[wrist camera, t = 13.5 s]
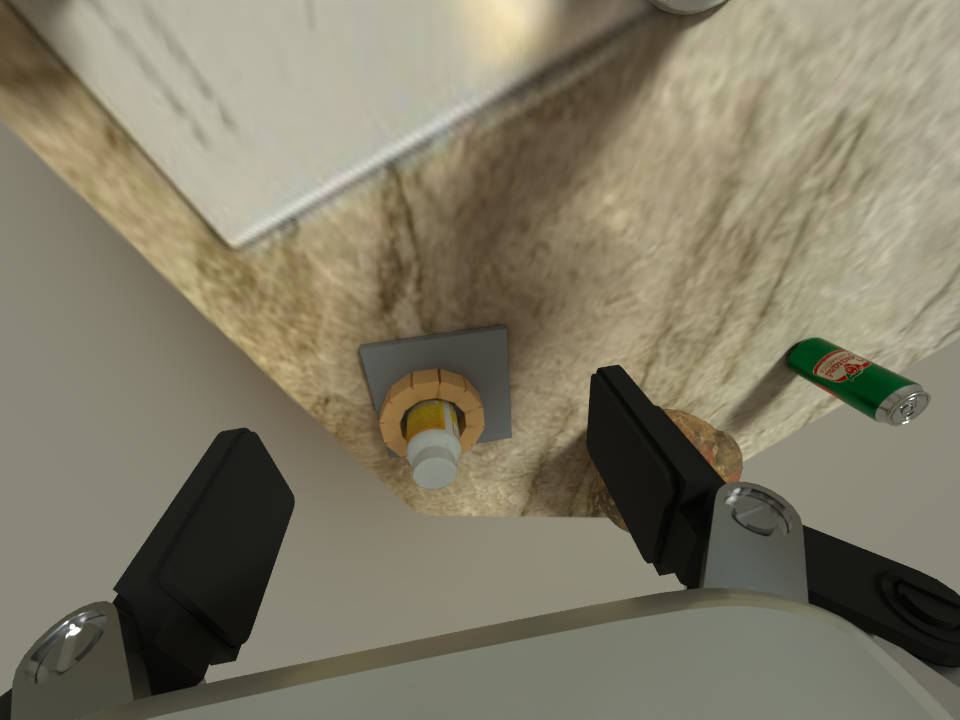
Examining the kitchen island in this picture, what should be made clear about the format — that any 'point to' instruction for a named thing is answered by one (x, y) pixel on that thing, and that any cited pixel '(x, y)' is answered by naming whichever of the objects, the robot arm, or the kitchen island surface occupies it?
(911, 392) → the soda can
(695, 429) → the ceramic vessel
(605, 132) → the kitchen island surface
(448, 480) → the supplement bottle
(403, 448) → the collar
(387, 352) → the plate
